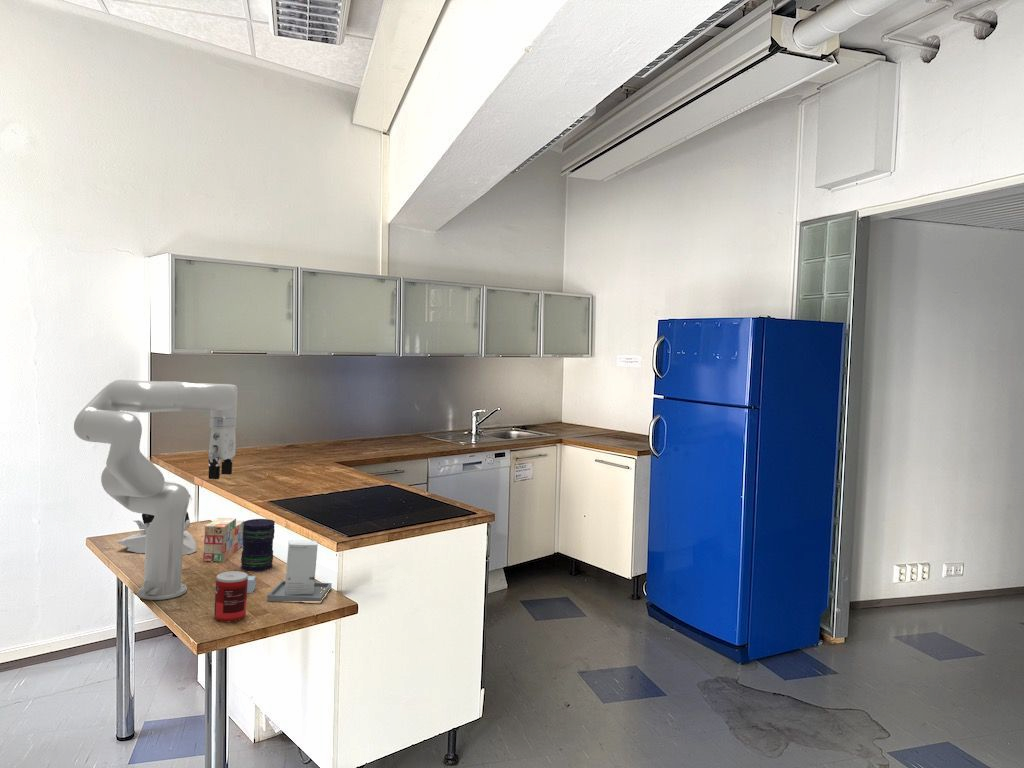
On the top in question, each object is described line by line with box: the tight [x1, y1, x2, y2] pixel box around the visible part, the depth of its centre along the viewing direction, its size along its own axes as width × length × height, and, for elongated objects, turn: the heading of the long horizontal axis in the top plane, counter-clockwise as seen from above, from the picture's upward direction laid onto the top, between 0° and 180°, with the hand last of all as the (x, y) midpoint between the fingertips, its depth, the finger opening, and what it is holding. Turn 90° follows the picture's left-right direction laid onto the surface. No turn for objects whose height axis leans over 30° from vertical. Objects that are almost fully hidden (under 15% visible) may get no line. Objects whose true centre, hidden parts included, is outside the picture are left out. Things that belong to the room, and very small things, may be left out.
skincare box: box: [284, 539, 319, 595], centre depth 196 cm, size 8×6×15 cm
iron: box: [117, 511, 198, 556], centre depth 231 cm, size 11×24×15 cm, turn 90°
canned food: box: [213, 570, 249, 623], centre depth 176 cm, size 8×8×11 cm
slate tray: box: [266, 580, 333, 602], centre depth 196 cm, size 13×15×2 cm
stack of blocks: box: [202, 517, 244, 563], centre depth 232 cm, size 21×6×12 cm, turn 4°
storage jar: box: [240, 518, 276, 573], centre depth 219 cm, size 10×10×15 cm
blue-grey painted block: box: [247, 575, 257, 594], centre depth 196 cm, size 8×4×4 cm, turn 101°
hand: (220, 476), depth 212 cm, fingers open, 9 cm apart
